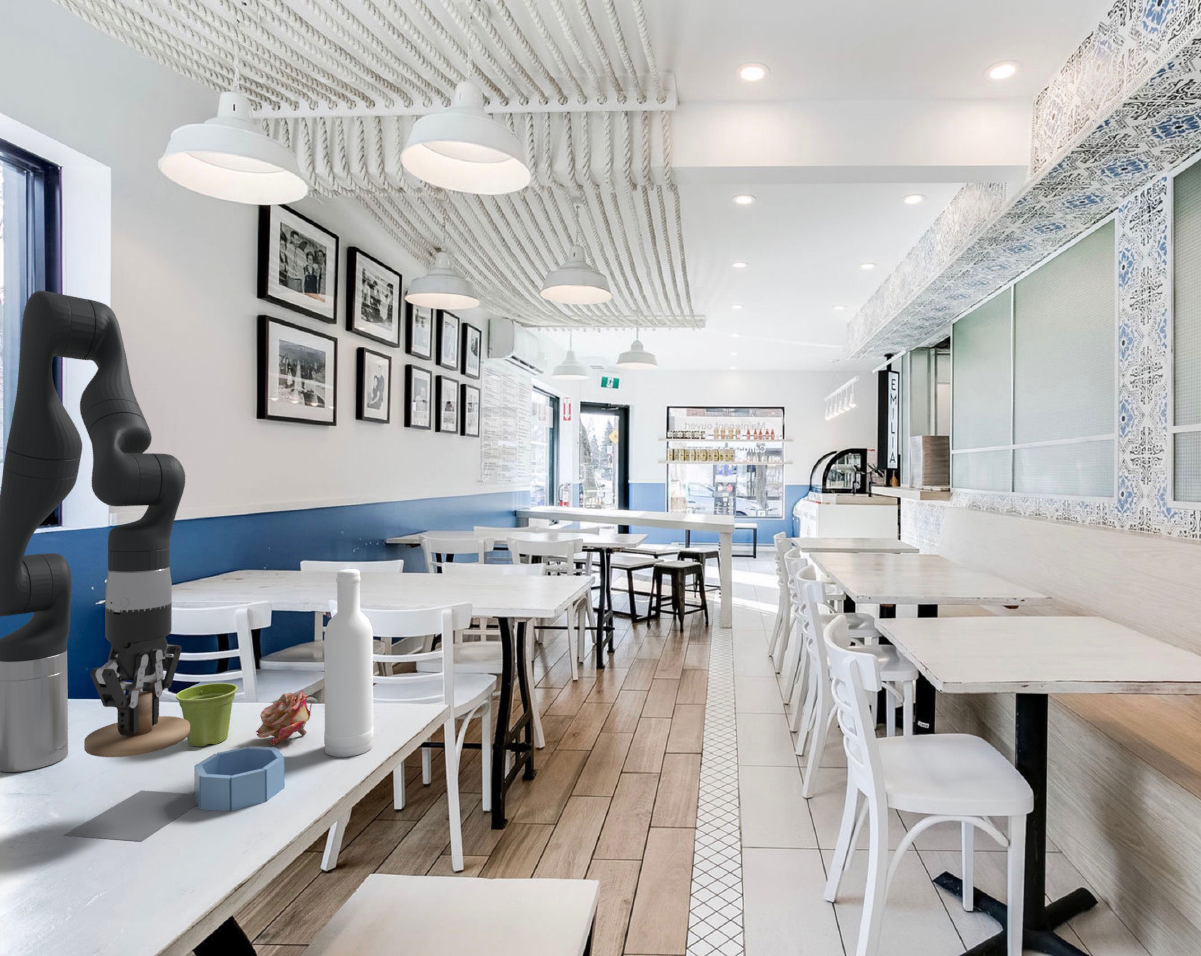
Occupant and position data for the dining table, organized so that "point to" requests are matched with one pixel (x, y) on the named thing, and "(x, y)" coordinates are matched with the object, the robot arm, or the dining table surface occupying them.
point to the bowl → (239, 778)
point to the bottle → (348, 673)
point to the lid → (138, 734)
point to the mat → (137, 816)
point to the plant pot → (207, 712)
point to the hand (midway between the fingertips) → (138, 729)
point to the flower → (285, 717)
